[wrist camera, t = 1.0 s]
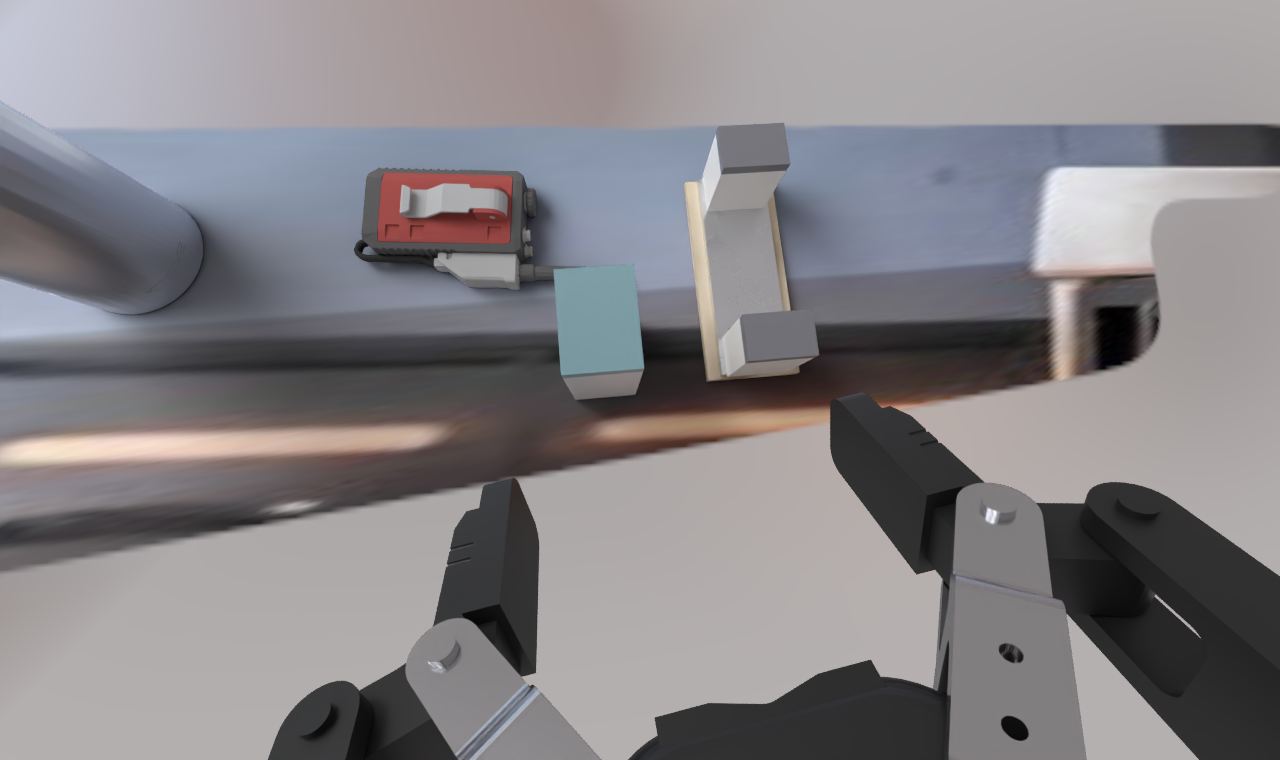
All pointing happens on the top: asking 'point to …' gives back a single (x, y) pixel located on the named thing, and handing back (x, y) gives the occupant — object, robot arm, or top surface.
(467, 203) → the walkie-talkie
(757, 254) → the rail
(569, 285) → the block
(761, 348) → the mounted modules
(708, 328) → the wood panel
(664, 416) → the top surface
